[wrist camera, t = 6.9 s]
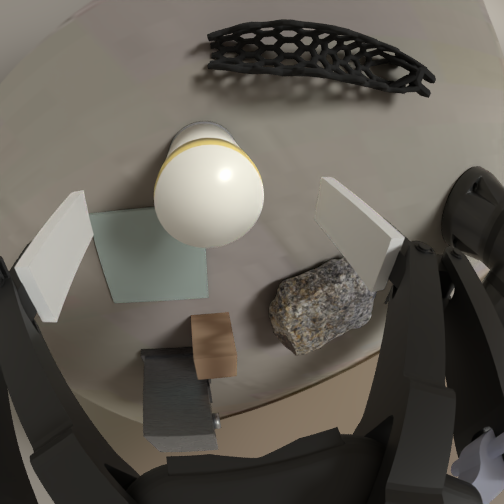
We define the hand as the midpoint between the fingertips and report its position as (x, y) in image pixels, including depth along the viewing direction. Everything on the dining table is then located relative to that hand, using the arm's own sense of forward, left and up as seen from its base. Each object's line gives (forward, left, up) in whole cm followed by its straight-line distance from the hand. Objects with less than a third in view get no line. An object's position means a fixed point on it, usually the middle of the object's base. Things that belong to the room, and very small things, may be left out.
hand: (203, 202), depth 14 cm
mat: (+6, +11, -11) cm, 17 cm away
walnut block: (0, +23, -12) cm, 26 cm away
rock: (-15, +19, -12) cm, 27 cm away
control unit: (+6, +33, -11) cm, 35 cm away
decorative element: (-12, -10, -12) cm, 20 cm away
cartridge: (0, 0, -11) cm, 11 cm away
